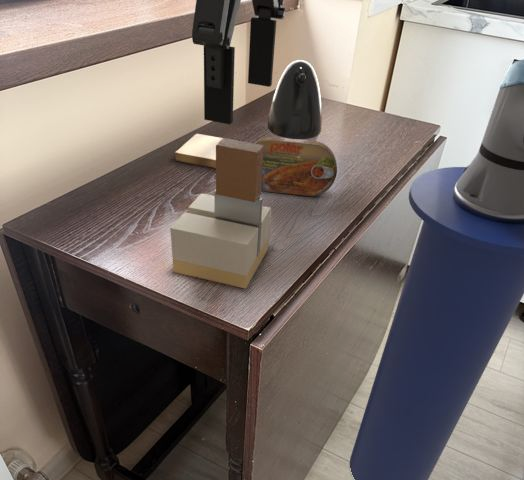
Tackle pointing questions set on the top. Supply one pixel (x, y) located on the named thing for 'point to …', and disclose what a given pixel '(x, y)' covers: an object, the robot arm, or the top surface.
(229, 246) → the slotted card holder
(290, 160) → the tin
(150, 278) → the top surface
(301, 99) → the black white dome
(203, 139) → the board
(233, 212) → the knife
